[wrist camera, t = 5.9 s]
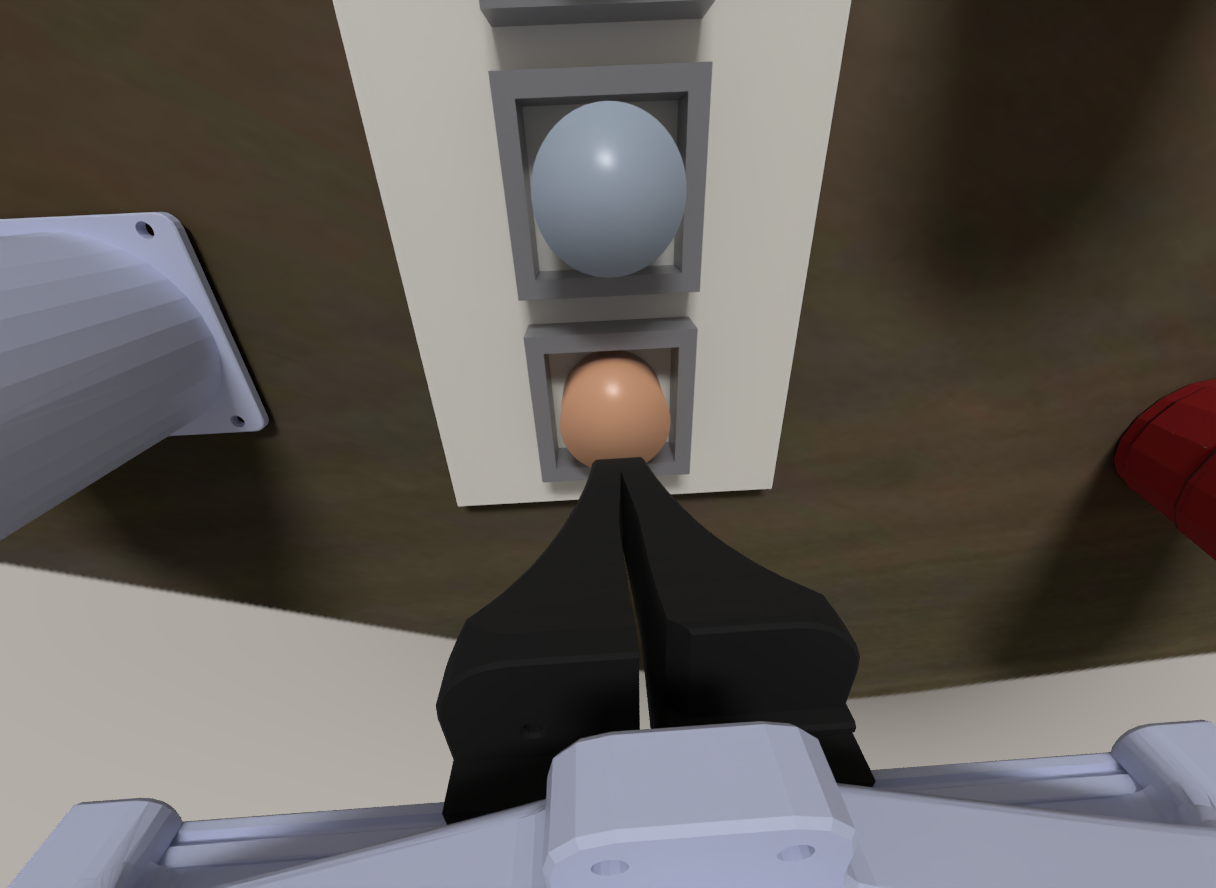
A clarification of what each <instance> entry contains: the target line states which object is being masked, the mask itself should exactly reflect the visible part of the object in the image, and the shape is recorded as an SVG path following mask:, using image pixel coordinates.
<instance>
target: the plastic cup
mask: <svg viewBox="0 0 1216 888" xmlns="http://www.w3.org/2000/svg"><path fill="white" fill-rule="evenodd" d="M1114 463H1115V468H1116V473H1117V475H1119V476H1120V477H1121V478H1122V479H1124V480H1125V483H1126V485H1127V486H1128V487H1130V488H1131V489H1132V490H1133V491H1135V492H1136V493H1137V494H1139V495H1140V496H1141V497H1142V498H1144V499H1145V500H1146V501H1147V502H1149V503H1150V504H1151V505H1152V506H1154V507H1155V508H1156V509H1157V510H1159V511H1160V512H1161V513H1163V514H1164V515H1165V516H1166V517H1168V518H1169V519H1170V520H1171V521H1173V522H1174V523H1175V524H1176V528H1177V529H1178V530H1180V531H1181V532H1182V533H1183V534H1184V535H1186V536H1187V537H1188V538H1189V539H1190V540H1192V541H1193V542H1194V543H1195V544H1196V545H1198V546H1199V547H1200V548H1201V549H1202V550H1204V551H1205V552H1206V553H1207V554H1209V555H1210V556H1211V557H1212V558H1213V559H1215V560H1216V379H1211V380H1206V381H1202V382H1197V383H1193V384H1190V385H1188V386H1186V387H1183V388H1181V389H1179V390H1177V391H1175V392H1173V393H1171V394H1169V395H1167V396H1165V397H1163V398H1162V399H1160V400H1159V401H1158V402H1157V403H1155V404H1154V405H1153V406H1151V407H1150V408H1149V409H1148V410H1146V411H1145V412H1144V413H1143V414H1141V415H1140V416H1139V417H1138V418H1137V419H1136V420H1135V421H1134V423H1133V424H1132V425H1131V426H1130V428H1129V429H1128V430H1127V431H1126V433H1125V434H1124V435H1123V437H1122V438H1121V439H1120V442H1119V445H1118V448H1117V451H1116V453H1115V456H1114Z"/></svg>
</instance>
